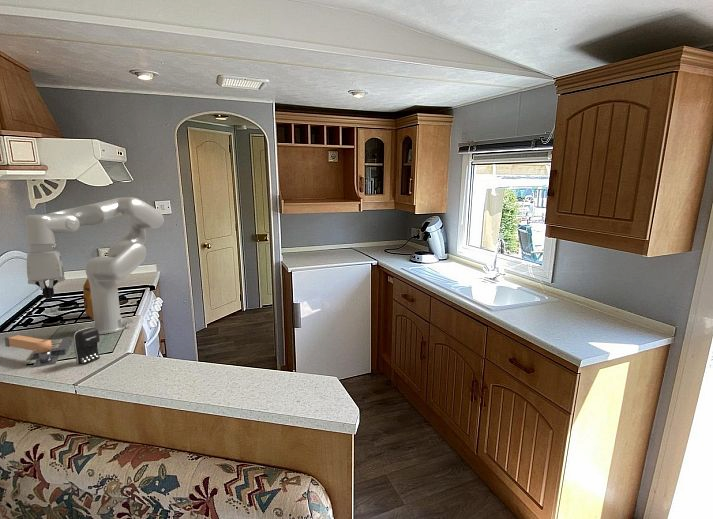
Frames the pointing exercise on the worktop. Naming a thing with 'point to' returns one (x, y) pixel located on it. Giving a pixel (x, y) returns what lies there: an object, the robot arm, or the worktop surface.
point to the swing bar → (28, 343)
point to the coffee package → (88, 299)
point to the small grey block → (45, 359)
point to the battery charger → (86, 345)
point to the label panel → (57, 347)
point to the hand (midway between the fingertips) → (49, 298)
